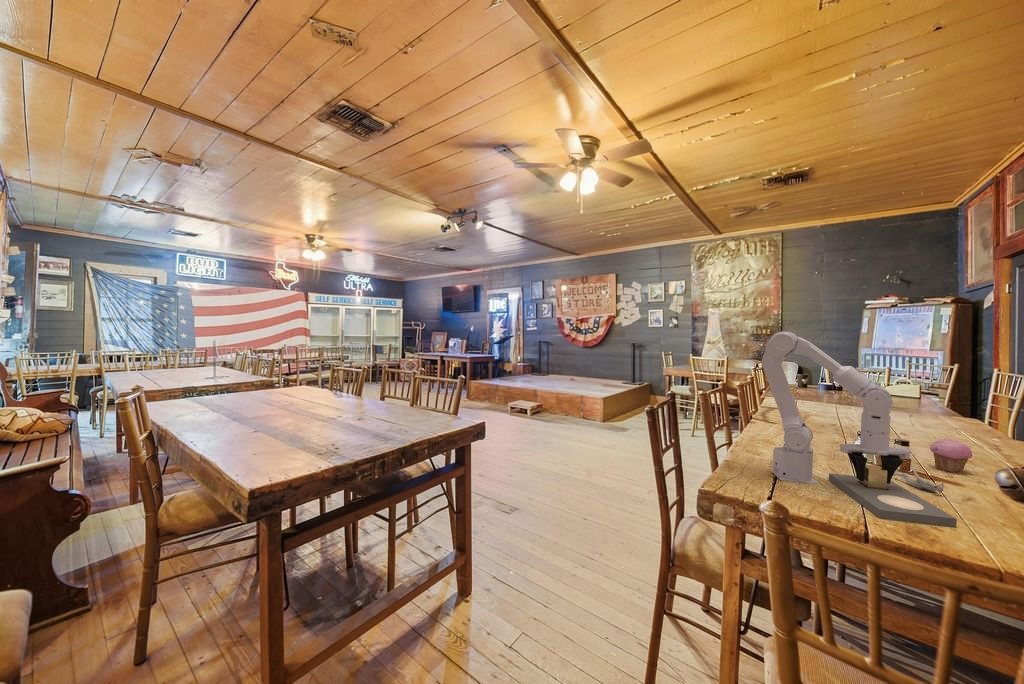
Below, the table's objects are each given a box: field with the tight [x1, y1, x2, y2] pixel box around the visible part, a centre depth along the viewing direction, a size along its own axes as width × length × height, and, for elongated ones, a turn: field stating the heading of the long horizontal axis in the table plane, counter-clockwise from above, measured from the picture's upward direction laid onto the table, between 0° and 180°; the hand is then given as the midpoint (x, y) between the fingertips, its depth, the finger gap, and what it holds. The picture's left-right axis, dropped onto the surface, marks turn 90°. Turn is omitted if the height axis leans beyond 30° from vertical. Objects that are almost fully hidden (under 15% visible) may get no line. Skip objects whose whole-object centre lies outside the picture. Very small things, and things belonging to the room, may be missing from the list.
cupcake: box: [929, 438, 973, 473], centre depth 124 cm, size 9×9×10 cm
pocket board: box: [828, 473, 958, 529], centre depth 101 cm, size 14×24×3 cm, turn 163°
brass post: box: [859, 464, 887, 490], centre depth 105 cm, size 4×4×7 cm
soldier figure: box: [893, 467, 945, 494], centre depth 110 cm, size 8×5×12 cm
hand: (872, 481), depth 105 cm, fingers open, 5 cm apart
